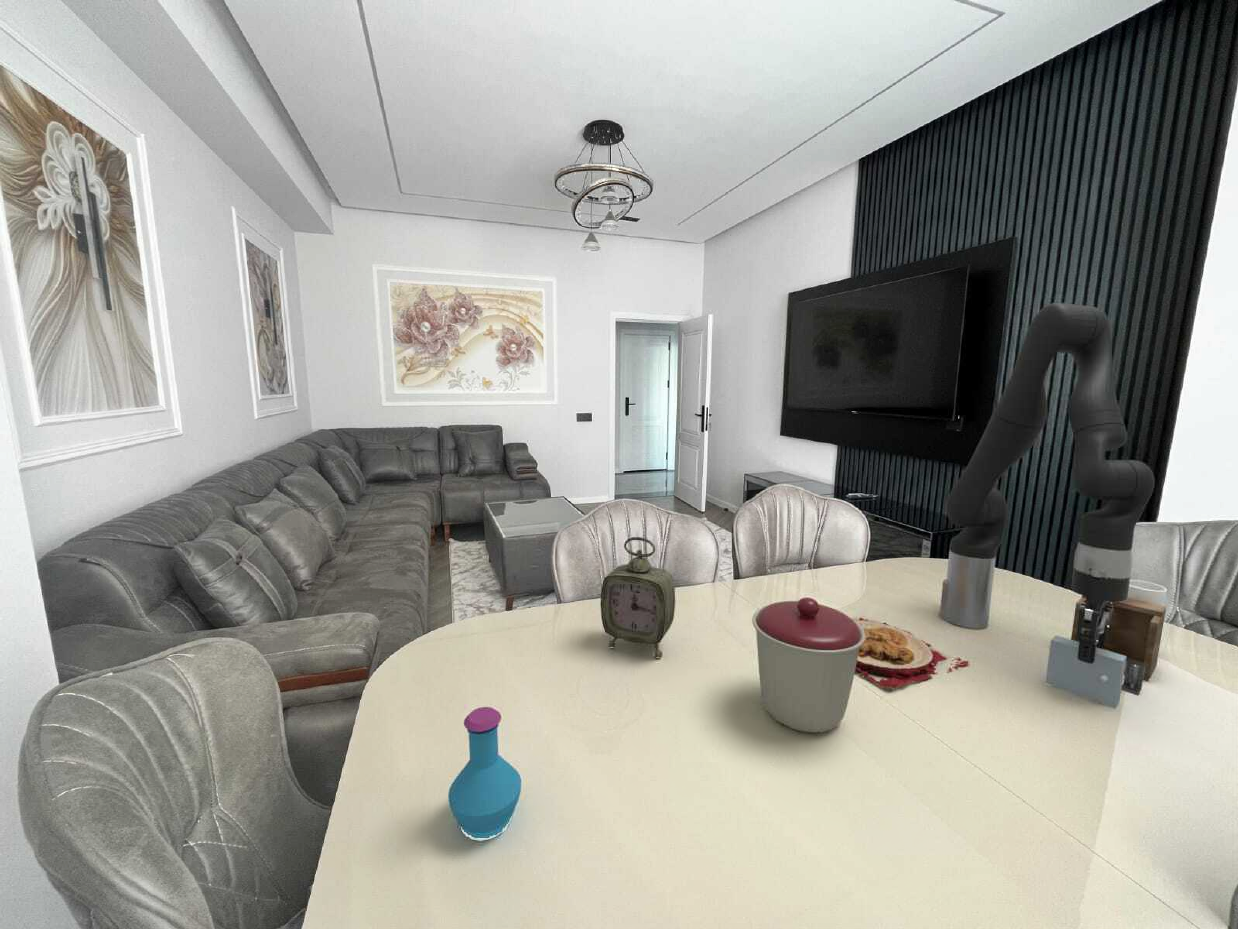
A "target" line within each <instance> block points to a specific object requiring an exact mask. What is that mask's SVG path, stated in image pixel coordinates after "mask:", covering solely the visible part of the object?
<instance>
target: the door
mask: <svg viewBox="0 0 1238 929" xmlns="http://www.w3.org/2000/svg"><path fill="white" fill-rule="evenodd" d="M1078 649H1079V642H1077V641H1073V640H1071V638H1067V637H1063V636H1060V635H1056V634H1055V635H1054V636H1053V637H1052V638H1051V639H1050V646H1049V653H1048V659H1047V660H1048V661H1047V668H1046V675H1045V682H1044V684H1046V683H1047V685H1049V684H1050V686H1052V685H1053V686H1052V687H1056V688H1058V689H1060V688H1061V690H1063V689H1064V690H1063V691H1066V692H1069V693H1072V694H1074V695H1077V696H1080V697H1083V698H1085V699H1088V700H1091V701H1095V702H1096V703H1100V704H1102V705H1105V706H1107V707H1111V708H1114V709H1117V707H1118V705H1119V704H1120V701H1121V694H1122V690H1121V689H1122V685H1123V682H1124V676H1125V674H1124V670H1125V663H1126V657H1127V656H1124V655H1120V654H1117V653H1114V652H1110V651H1107V650H1104V649H1100V648H1097V647H1096V653H1095V661H1094V663H1093V664H1090V663H1086V662H1083V661H1080V660H1078V658H1077V657H1078Z"/></svg>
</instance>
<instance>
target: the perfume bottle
mask: <svg viewBox="0 0 1238 929" xmlns="http://www.w3.org/2000/svg"><path fill="white" fill-rule="evenodd" d="M501 720H502V715H501V713H500V711H498V710H497V709H495V708H493V707H491V706H480V707H478V708H475V709H474V710H472V711H470V712H469V714H468V715H467V716H466V717H465V718H464V720H463V726H464V727H465V728H466V730H467V733H468V744H469V746H468V747H469V748H468V749H469V760H468V761H467V763H466V764H465V765H464V767H463V768H462V769H461V770H460V772H459V773H458V775H457V776H456V777H455V778H454V780H453V781H452V783H451V785H450V787H449V789H448V803H449V804H448V805H449V808H450V810H451V812H452V815H453V816H454V818H455V819H456V822H457V824H458V825H459V827H460V828H461V827H462V829H463V830H464V832H466V833H467V834H468V835H471V836H472V837H474V838H489V837H490V836H493V835H497V834H498V833H500V832H502V830H503V828H505V827H506V825H507V824H508V823H509V821H510V818H511V816H512V817H513V814H514V812H515V810H516V807H517V804H518V802H519V799H520V795H521V791H522V778H521V775H520V773H519V771H518V770H517V769H515V767H514V766H513V765H511V764H510V763H509V762H508V761H507V760H505V759H504V757H502V756H501V755H500V754H499V740H498V739H499V738H498V737H499V736H498V728H499V723H500V722H501Z"/></svg>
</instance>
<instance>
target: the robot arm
mask: <svg viewBox="0 0 1238 929" xmlns="http://www.w3.org/2000/svg"><path fill="white" fill-rule="evenodd" d="M1111 333H1112V332H1111V325H1110V321H1109V318H1108V316H1107V313H1106V312H1105V311H1104V310H1103V309H1101V308H1098V307H1096V306H1091V305H1083V304H1082V305H1081V304H1073V303H1072V304H1071V303H1064V302H1054V303H1049V304H1047V305H1045V306H1043V308H1041V309H1040V310H1039V311H1038V312H1037V313H1036V315H1035V316H1034V317H1033V319H1032V321H1031V323H1030V325H1029V326H1028V330H1027V331H1026V334H1025V337H1024V339H1023V342H1022V345H1021V348H1020V351H1019V354H1018V357H1017V359H1016V362H1015V365H1014V368H1013V370H1012V372H1011V375H1010V378H1009V380H1008V382H1007V384H1006V386H1005V389H1004V391H1003V392H1002V395H1001V397H1000V400H999V401H998V403H997V405H996V407H995V409H994V411H993V413H992V414H991V416H990V419H989V420H988V423H987V425H986V428H985V430H984V432H983V434H982V437H981V438H980V440H979V442H978V444H977V446H976V448H975V450H974V452H973V455H972V456H971V459H970V460H969V462H968V464H967V465H966V467H965V469H964V470H963V472H962V473H961V475H960V477H959V479H958V480H957V482H956V484H954V487H953V488H952V489H951V491H950V493H949V495H948V497H947V500H946V503H945V504H946V505H945V511H946V515H947V518H948V519H949V521H950V523H952V524H953V525H955V526H958V527H963V529H962V530H961V531H960V532H959V533H958V534H956V535H955V536H954V537H952V538H951V540H950V542H949V552H948V561H947V571H946V572H947V573H946V578H945V579H944V580H943V581H942V586H941V587H942V588H941V598H940V607H939V618H941V619H944V620H946V622H949V623H951V624H954V625H956V626H959V627H963V628H967V629H976V630H980V629H986V628H987V627H988V626H989V621H990V611H991V603H992V592H993V585H994V584H993V583H994V575H995V566H996V559H997V551H998V550H999V548H1000V546H1001V544H1002V542H1003V537H1004V534H1005V533H1004V532H1005V527H1006V521H1007V514H1008V506H1007V502H1006V501H1007V500H1006V498H1005V496H1004V494H1003V492H1001V491H1000V490H998V489H997V488H996V487H995V485H996V483H997V482H998V481H999V479H1000V478H1001V477H1002V476H1003V475H1004V474H1005V473H1006V472H1007V471H1009V469H1010V468H1012V467H1013V466H1014V465H1015V464H1016V463H1017V462H1019V461H1020V460H1021V459H1022V458H1023V457H1024V456H1025V455H1026V454H1027V453H1028V452H1029V451H1030V450H1031V449H1032V447H1033V446H1034V444H1035V443H1036V441H1037V439H1038V437H1039V435H1040V433H1041V432H1042V430H1043V428H1044V426H1045V424H1046V422H1047V419H1048V414H1049V413H1048V412H1049V411H1048V410H1049V409H1048V400H1047V395H1046V388H1045V380H1046V376H1047V373H1048V370H1049V368H1050V366H1051V363H1052V361H1053V359H1054V358H1055V355H1056V354H1057V353H1060V354H1069V355H1070V354H1071V356H1072V358H1073V360H1074V363H1075V364H1076V367H1077V380H1076V382H1075V386H1074V389H1073V391H1072V393H1071V395H1070V397H1069V401H1068V407H1067V413H1068V420H1069V423H1070V427H1071V431H1072V435H1073V439H1074V442H1075V443H1074V455H1073V466H1072V472H1071V481H1072V484H1073V487H1074V489H1075V490H1076V491H1077V492H1078V493H1079V494H1080V495H1081V496H1082V497H1084V498H1087V499H1090V500H1109V501H1108V503H1107V504H1106V505H1105V507H1103V508H1100V509H1096V510H1091V511H1088V512H1085V513H1083V515H1082V516H1081V519H1080V524H1079V533H1078V534H1079V535H1078V542H1077V546H1076V550H1075V552H1074V560H1073V568H1072V577H1071V578H1072V579H1071V587H1070V588H1071V590H1072V591H1073V592H1074V593H1076V594H1078V595H1081V596H1082V595H1083V596H1085V597H1086V600H1084V603H1081V605H1080V609H1079V619H1078V626H1077V634H1076V636H1075V637H1076V640H1079V649H1078V657H1077V658H1078V660H1080V661H1083V662H1086V663H1090V664H1093V663H1094V661H1095V653H1096V647H1097V648H1100V649H1103V648H1104V647H1105V641H1106V633H1107V630H1108V628H1109V624H1110V623H1111V622H1112V613H1113V610H1114V607H1113V602H1120V601H1124V600H1126V599H1127V597H1128V590H1129V582H1130V580H1131V574H1132V566H1133V565H1132V564H1133V557H1132V556H1133V555H1132V552H1133V551H1132V549H1133V542H1134V533H1135V528H1136V526H1137V524H1138V521H1139V519H1140V517H1141V516H1142V514H1143V511H1144V510H1145V508H1146V505H1148V502H1149V501H1150V498H1151V497H1152V494H1153V492H1154V488H1155V483H1156V482H1155V476H1154V472H1153V471H1152V469H1151V468H1150V466H1148V465H1147V464H1146V463H1145V462H1142V461H1141V460H1135V459H1106V458H1105V452H1108V451H1114V450H1118V449H1119V448H1121V447H1123V446H1125V445H1126V443H1127V441H1128V432H1127V429H1126V425H1125V423H1124V419H1123V416H1122V412H1121V410H1120V406H1119V403H1118V400H1117V394H1116V388H1115V382H1114V379H1115V378H1114V364H1113V351H1112V347H1113V346H1112V334H1111ZM1105 629H1106V630H1105ZM1085 630H1089V631H1090V634H1089V636H1088V635H1084V631H1085Z"/></svg>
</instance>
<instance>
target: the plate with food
mask: <svg viewBox="0 0 1238 929" xmlns="http://www.w3.org/2000/svg"><path fill="white" fill-rule="evenodd" d="M852 619H853V618H852ZM858 619H859V620H857V619H855V618H854V619H853V620H854V621H856V622H857V623H858V624H859V625H860V626H861V627H862V628H863V630H864V632H865V635H866V639H865V642H864V643H863V645H862V646H861V647H860V648H859V654H858V659H857V663H856V668H855V673H856V675H857V674H858V675H859V676H858V675H857V676H858V677H861V676H862V678H865V677H866V678H865V679H868V680H869V681H871V682H872V683H875V684H876V685H877V686H880V687H884V688H888V687H889V688H890V689H894V688H899V687H900V686H906V685H909V684H911V682H914V683H918V682H922V681H925V680H931V679H933V677H931V676H928V675H934V676H936V675H937V674H938V672H935V670H936V671H937V664H938V662H943V661H946V660H948V658H947V657H946V656H944V655H942V654H941V653H939V652H938V651H935V650H933V649H932V648H930V647H933V646H932V645H931V644H930V643H927V642H926V641H924V640H922V639H919V638H917V637H916V636H915V635H914V634H913V633H911V631H908V630H904V629H901V628H899V627H896V626H891V625H890V624H888V623H887V622H876V621H872V620H869V621H868V619H864V618H863V617H860V618H858ZM955 660H956V661H955ZM951 662H955V663H954V664H953V663H950V665H952V666H951V667H952V668H951V667H948V669H947V670H946V673H947V674H949V673H952V672H953V670H954V671H955V670H956V671H957V670H958V669H959V667H963V666H967V665H969V663H970V661H969V660H962V659H961V657H957V658H953V659H951ZM953 665H954V666H953ZM869 674H870V675H875V674H876V676H879V675H880V677H884V678H887V679H884V678H881V679H880V680H879V681H878V680H876V679H875V678H874V677H872V676H870V675H869ZM863 676H864V677H863ZM888 678H889V679H888Z"/></svg>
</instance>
